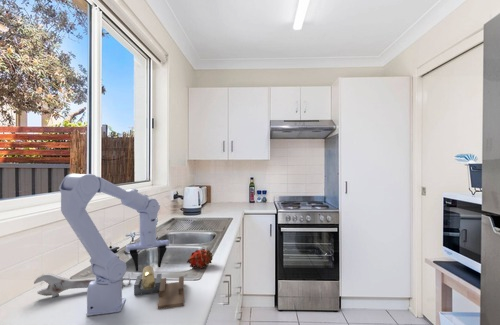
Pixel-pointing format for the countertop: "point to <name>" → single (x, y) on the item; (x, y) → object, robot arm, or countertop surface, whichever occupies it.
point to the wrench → (64, 284)
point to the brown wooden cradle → (171, 294)
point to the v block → (140, 290)
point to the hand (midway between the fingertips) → (148, 268)
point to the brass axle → (148, 278)
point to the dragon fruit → (200, 258)
